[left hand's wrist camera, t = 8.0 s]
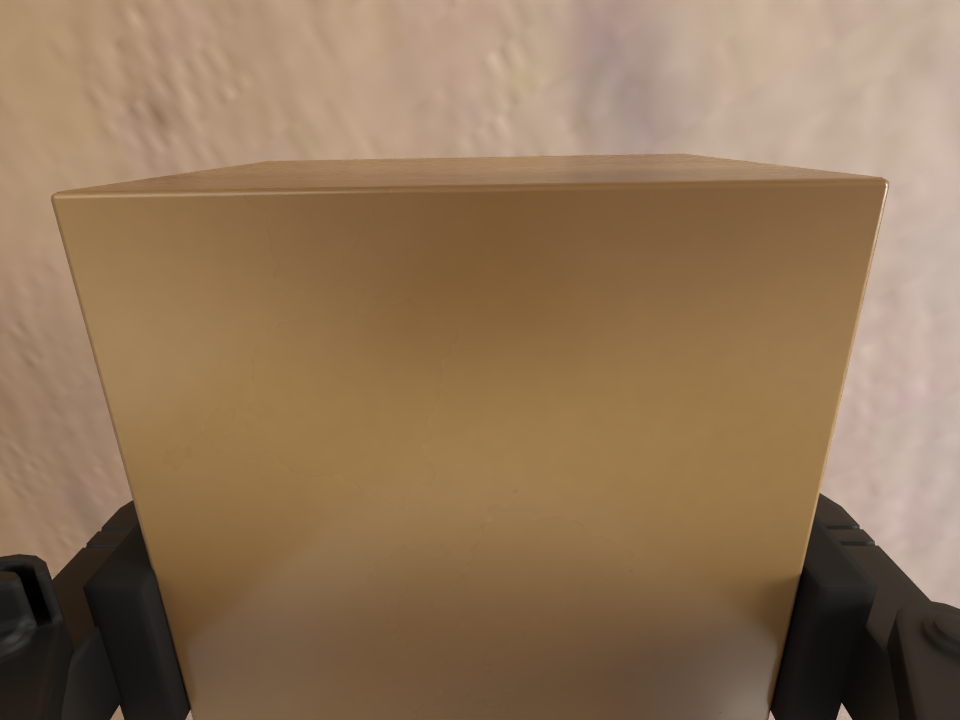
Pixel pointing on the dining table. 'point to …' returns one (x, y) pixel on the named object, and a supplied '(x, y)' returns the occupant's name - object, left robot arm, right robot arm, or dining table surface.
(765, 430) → the slab
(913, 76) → the dining table surface
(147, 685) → the left robot arm
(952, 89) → the dining table surface
